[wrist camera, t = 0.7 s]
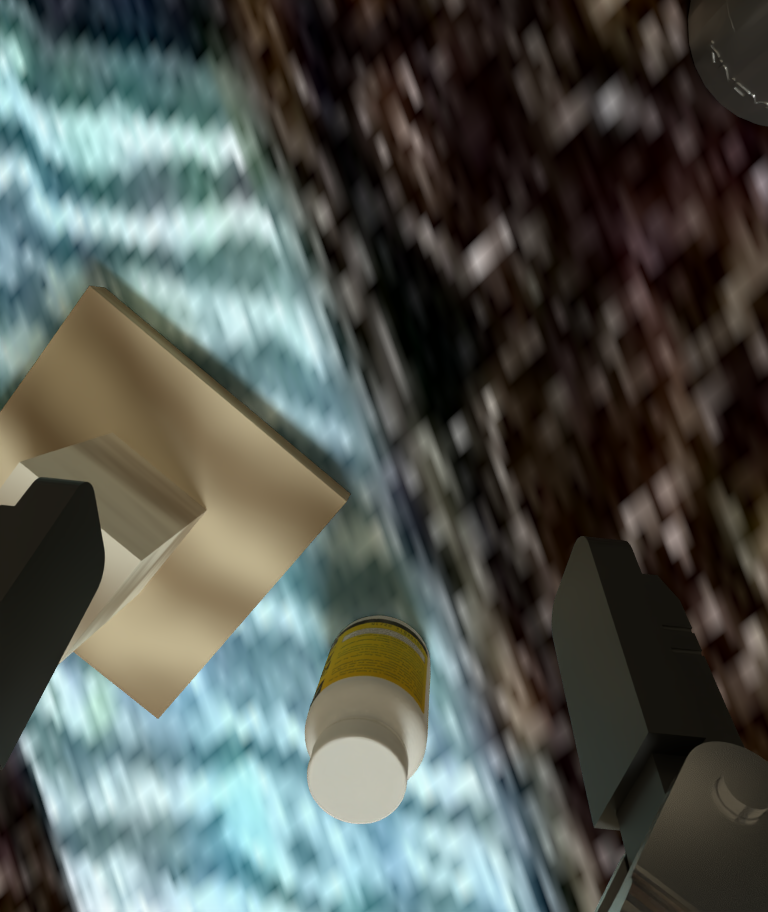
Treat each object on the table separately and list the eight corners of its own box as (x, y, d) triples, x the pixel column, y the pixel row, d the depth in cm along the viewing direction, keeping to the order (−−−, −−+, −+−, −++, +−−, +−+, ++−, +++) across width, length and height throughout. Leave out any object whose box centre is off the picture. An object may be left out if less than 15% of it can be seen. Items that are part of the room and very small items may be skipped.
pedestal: (104, 287, 33) (-16, 272, 25) (350, 494, 34) (319, 551, 26) (-61, 520, 37) (-220, 580, 28) (169, 703, 38) (85, 818, 29)
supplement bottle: (323, 615, 36) (280, 721, 26) (425, 608, 35) (419, 713, 26) (336, 709, 37) (299, 843, 27) (435, 703, 36) (433, 838, 27)
